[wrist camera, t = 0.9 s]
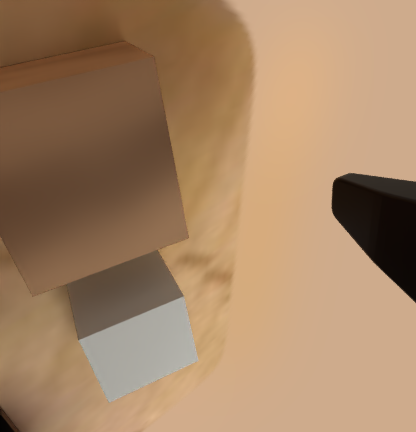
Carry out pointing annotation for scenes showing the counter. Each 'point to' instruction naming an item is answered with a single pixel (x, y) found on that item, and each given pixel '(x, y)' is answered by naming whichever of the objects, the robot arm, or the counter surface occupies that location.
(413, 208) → the robot arm
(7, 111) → the base block
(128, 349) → the cube
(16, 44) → the counter surface
